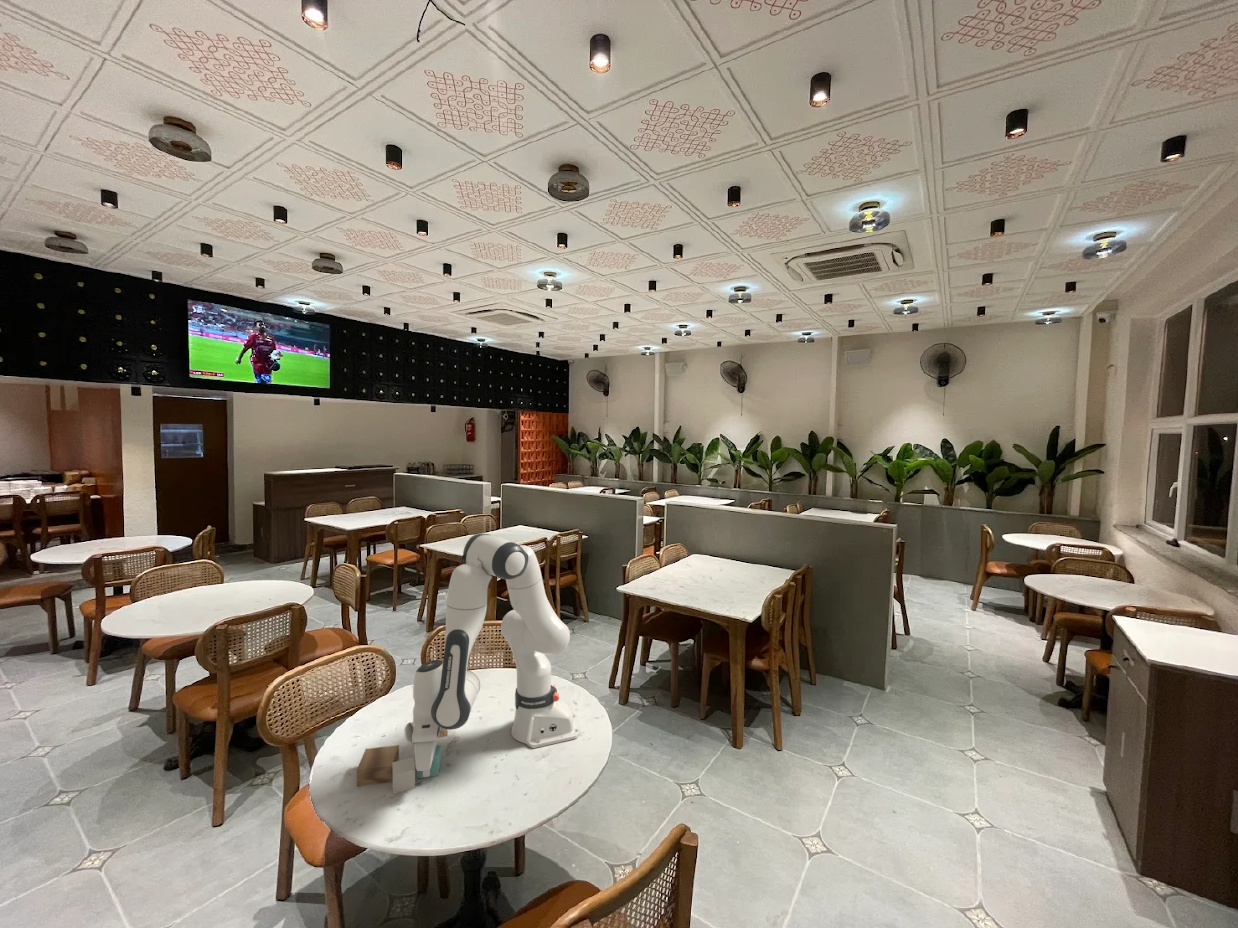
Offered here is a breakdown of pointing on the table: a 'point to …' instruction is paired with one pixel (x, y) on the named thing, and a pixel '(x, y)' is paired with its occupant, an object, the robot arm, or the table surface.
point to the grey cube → (403, 775)
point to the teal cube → (433, 763)
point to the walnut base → (377, 765)
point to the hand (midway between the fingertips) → (429, 763)
